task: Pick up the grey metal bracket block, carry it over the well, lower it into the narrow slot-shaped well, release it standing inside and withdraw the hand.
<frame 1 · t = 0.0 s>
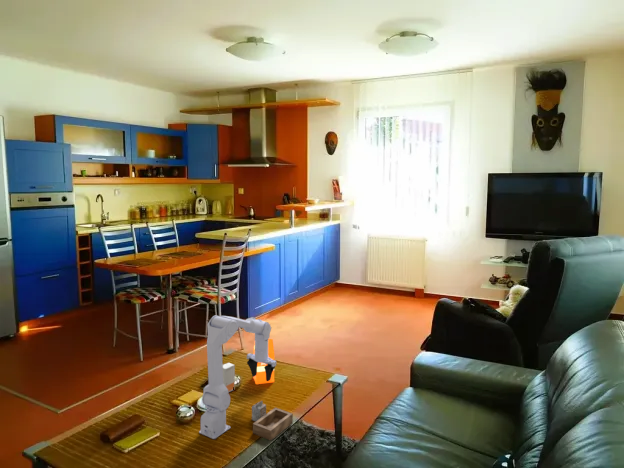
hand: (261, 378, 203), 10 cm above the table, fingers open, 7 cm apart
orange juice: (263, 380, 224), on the table
well block: (273, 428, 183), on the table
bracket: (259, 419, 189), on the table
skincare box: (226, 391, 213), on the table
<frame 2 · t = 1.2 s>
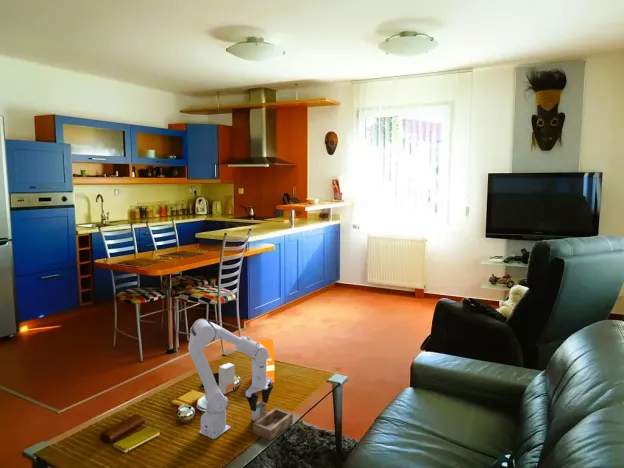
hand: (259, 406, 189), 6 cm above the table, fingers open, 7 cm apart
nothing on the table moved.
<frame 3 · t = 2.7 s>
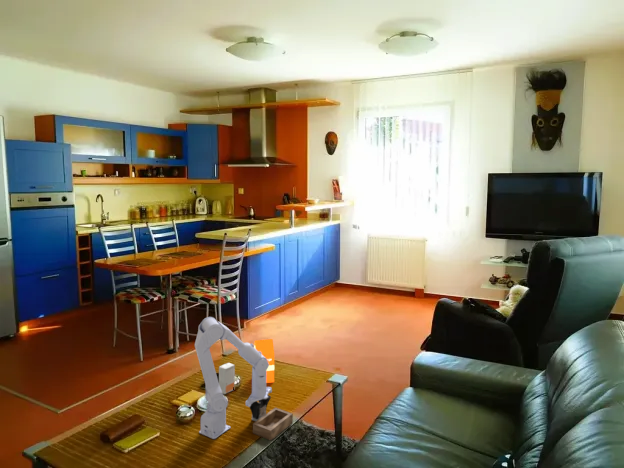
hand: (259, 415, 189), 2 cm above the table, fingers closed on bracket, 4 cm apart
bracket: (259, 419, 189), on the table, touching gripper
everything else where it was.
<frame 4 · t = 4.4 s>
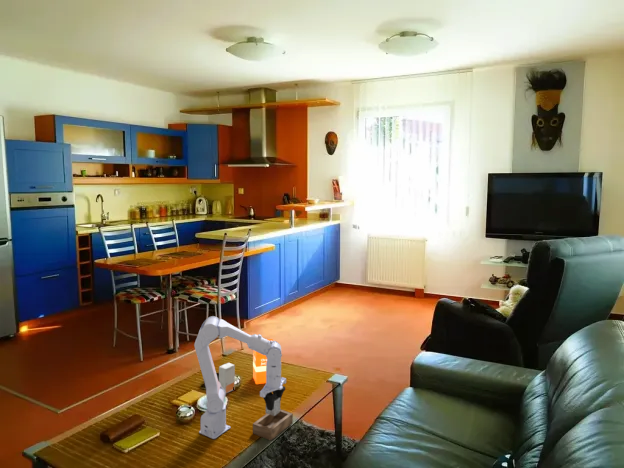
hand: (273, 407, 182), 9 cm above the table, fingers closed on bracket, 4 cm apart
bracket: (272, 412, 182), point 7 cm above the table, touching gripper
everything else where it was.
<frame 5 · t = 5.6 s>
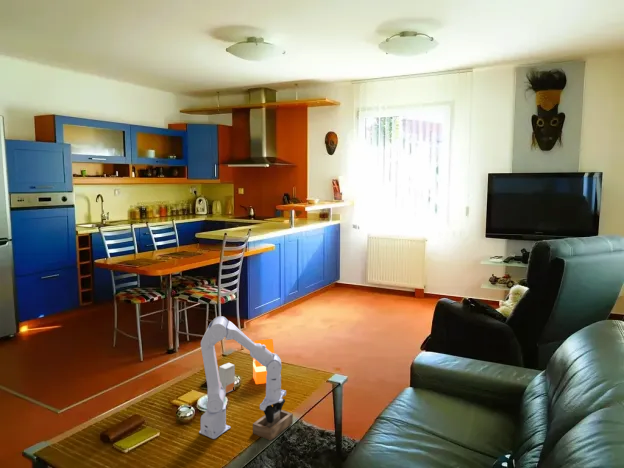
hand: (273, 419, 183), 4 cm above the table, fingers closed on bracket, 4 cm apart
bracket: (272, 424, 183), point 1 cm above the table, touching gripper
everything else where it was.
when the fingers open (4 cm above the table, at t = 6.4 s): bracket stays where it is, resting on well block.
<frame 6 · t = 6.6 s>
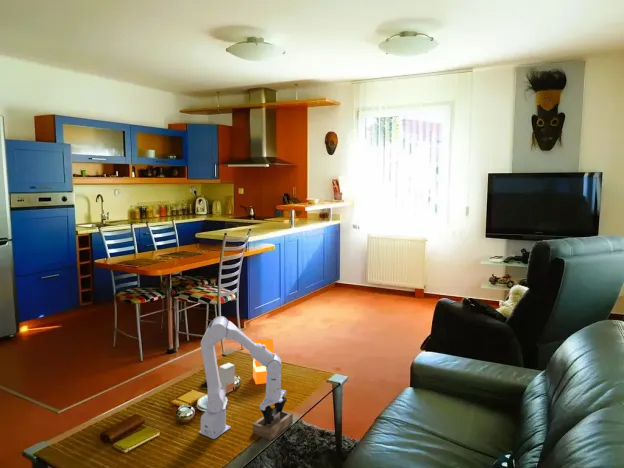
hand: (273, 419, 183), 4 cm above the table, fingers open, 6 cm apart
bracket: (272, 426, 183), resting on well block
everything else where it was.
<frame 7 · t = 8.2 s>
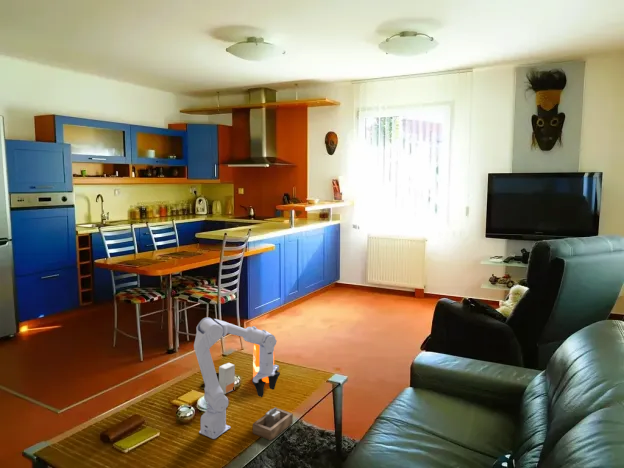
hand: (266, 392, 192), 9 cm above the table, fingers open, 7 cm apart
nothing on the table moved.
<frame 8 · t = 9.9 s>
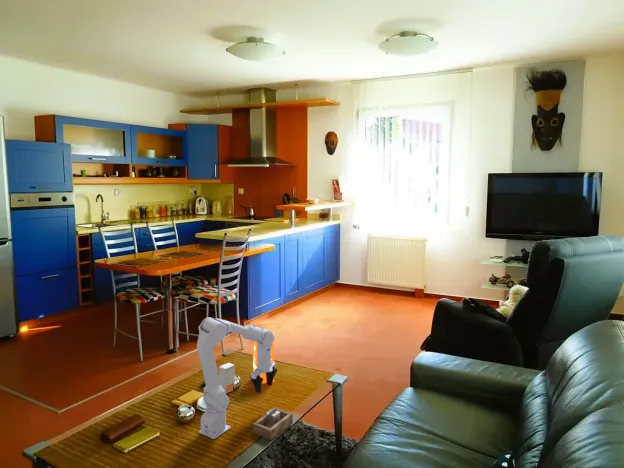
hand: (263, 388, 195), 9 cm above the table, fingers open, 7 cm apart
nothing on the table moved.
at the end: bracket 0.1 cm from the well block (horizontally); bracket tilted 0°; the gripper is holding nothing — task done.
